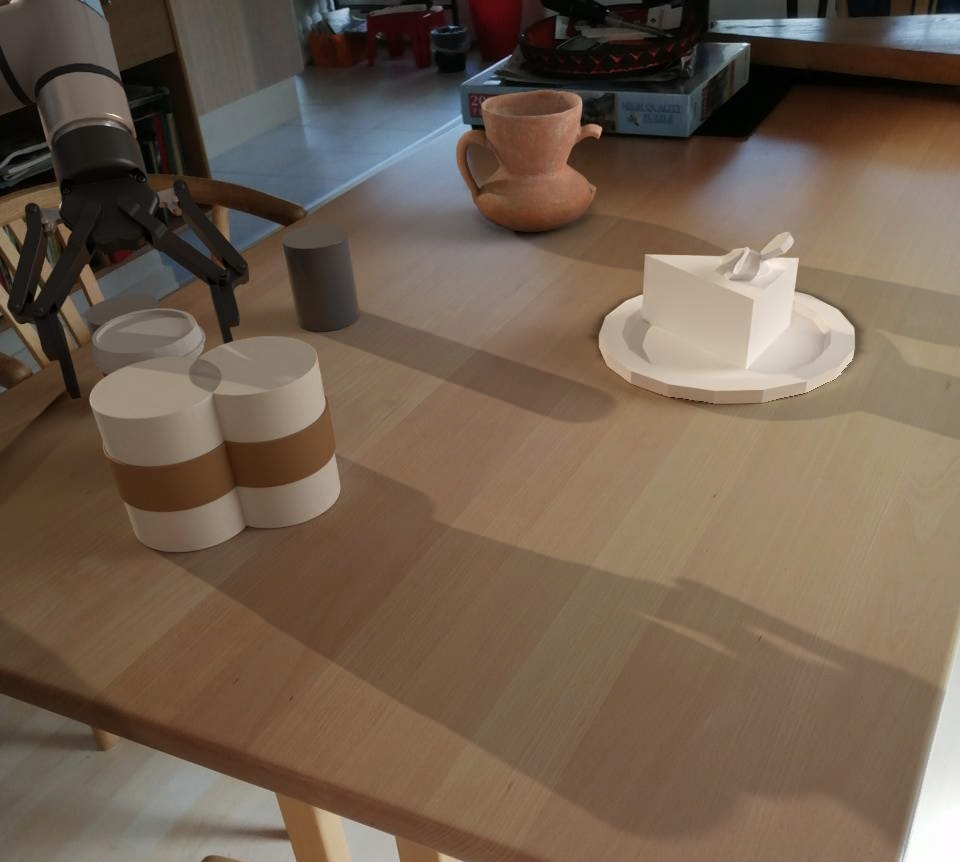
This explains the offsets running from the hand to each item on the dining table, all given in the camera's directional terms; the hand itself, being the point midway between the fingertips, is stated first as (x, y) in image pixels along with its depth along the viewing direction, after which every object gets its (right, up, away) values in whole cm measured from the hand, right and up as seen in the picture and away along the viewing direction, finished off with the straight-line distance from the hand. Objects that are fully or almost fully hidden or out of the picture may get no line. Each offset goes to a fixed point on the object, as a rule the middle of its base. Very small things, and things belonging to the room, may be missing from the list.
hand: (155, 378), depth 89 cm
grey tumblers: (+3, +8, +20) cm, 22 cm away
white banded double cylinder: (+8, -11, -2) cm, 14 cm away
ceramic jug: (+35, +31, +45) cm, 65 cm away
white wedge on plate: (+53, +7, +15) cm, 55 cm away
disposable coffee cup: (+1, -6, +5) cm, 8 cm away
